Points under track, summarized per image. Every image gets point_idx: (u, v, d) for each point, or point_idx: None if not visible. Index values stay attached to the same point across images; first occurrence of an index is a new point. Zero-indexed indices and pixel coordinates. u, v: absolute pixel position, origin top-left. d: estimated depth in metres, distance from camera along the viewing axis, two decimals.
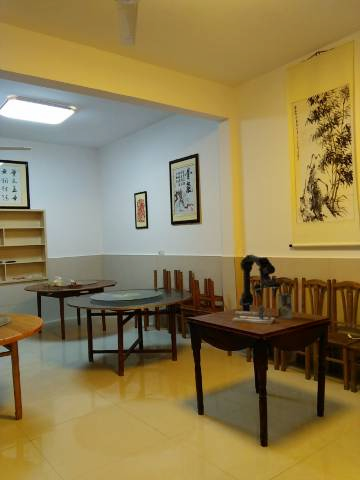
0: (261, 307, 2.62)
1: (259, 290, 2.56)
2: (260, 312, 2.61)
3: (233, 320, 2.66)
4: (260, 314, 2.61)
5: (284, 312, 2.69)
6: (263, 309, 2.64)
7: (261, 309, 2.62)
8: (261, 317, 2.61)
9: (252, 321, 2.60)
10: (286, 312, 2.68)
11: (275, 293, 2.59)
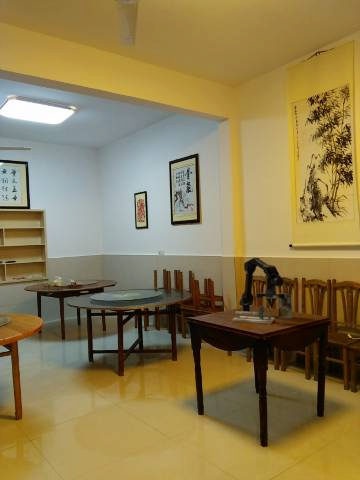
0: (261, 307, 2.62)
1: (268, 299, 2.59)
2: (260, 312, 2.61)
3: (233, 320, 2.66)
4: (260, 314, 2.61)
5: (284, 312, 2.69)
6: (263, 309, 2.64)
7: (261, 309, 2.62)
8: (261, 317, 2.61)
9: (252, 321, 2.60)
10: (286, 312, 2.68)
11: (272, 303, 2.59)
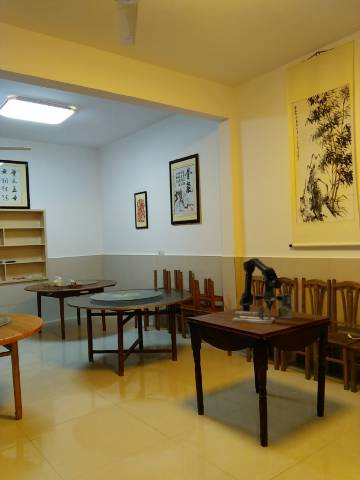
0: (261, 307, 2.62)
1: (266, 301, 2.59)
2: (260, 312, 2.61)
3: (233, 320, 2.66)
4: (260, 314, 2.61)
5: (284, 312, 2.69)
6: (263, 309, 2.64)
7: (261, 309, 2.62)
8: (261, 317, 2.61)
9: (252, 321, 2.60)
10: (286, 312, 2.68)
11: (270, 305, 2.60)
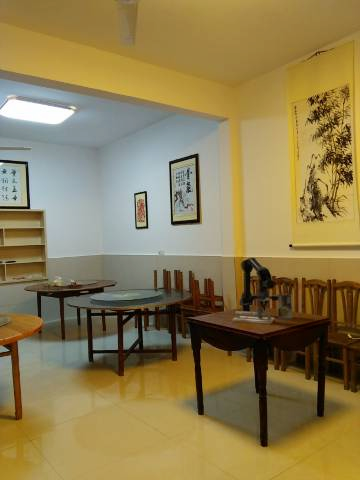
0: (260, 307, 2.62)
1: (260, 301, 2.61)
2: (259, 312, 2.61)
3: (233, 320, 2.66)
4: (259, 314, 2.62)
5: (284, 312, 2.69)
6: None
7: (260, 309, 2.62)
8: (260, 317, 2.61)
9: (252, 321, 2.60)
10: (286, 312, 2.68)
11: (265, 305, 2.61)
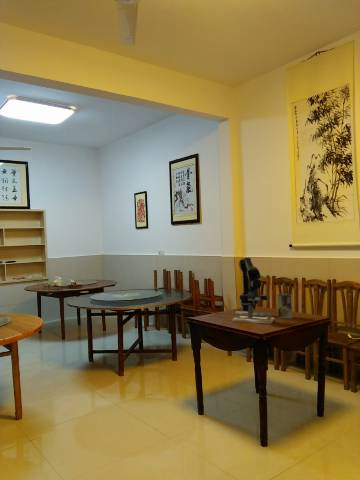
0: (250, 307, 2.65)
1: (250, 301, 2.64)
2: (249, 312, 2.64)
3: (233, 320, 2.66)
4: (249, 313, 2.64)
5: (284, 312, 2.69)
6: (252, 309, 2.67)
7: (250, 309, 2.65)
8: (250, 316, 2.64)
9: (252, 321, 2.60)
10: (286, 312, 2.68)
11: (254, 305, 2.64)
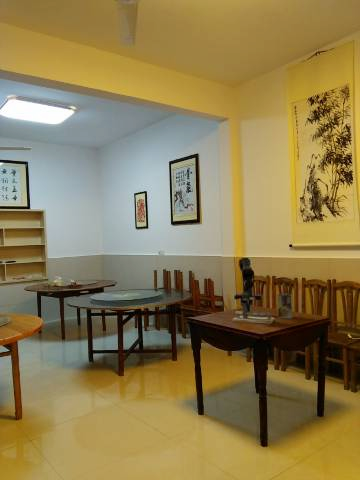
0: (244, 306, 2.67)
1: (245, 301, 2.65)
2: (243, 311, 2.66)
3: (233, 320, 2.66)
4: (243, 313, 2.66)
5: (284, 312, 2.69)
6: (246, 308, 2.69)
7: (244, 308, 2.67)
8: (244, 316, 2.66)
9: (252, 321, 2.60)
10: (286, 312, 2.68)
11: (249, 305, 2.66)
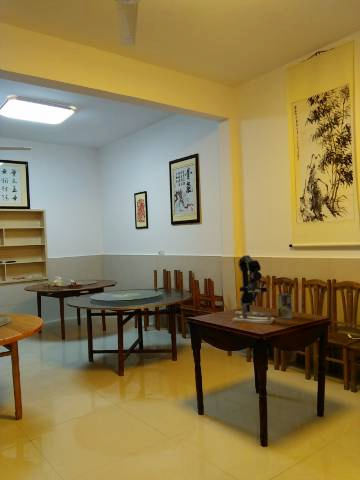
0: (244, 306, 2.67)
1: (250, 293, 2.65)
2: (243, 311, 2.66)
3: (233, 320, 2.66)
4: (243, 313, 2.66)
5: (284, 312, 2.69)
6: (246, 308, 2.69)
7: (244, 308, 2.67)
8: (244, 316, 2.66)
9: (252, 321, 2.60)
10: (286, 312, 2.68)
11: (254, 297, 2.65)
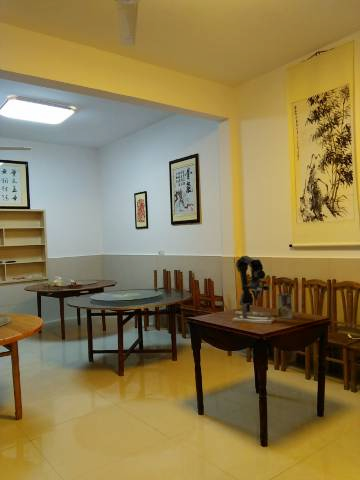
0: (244, 306, 2.67)
1: (252, 291, 2.70)
2: (243, 311, 2.66)
3: (233, 320, 2.66)
4: (243, 313, 2.66)
5: (284, 312, 2.69)
6: (246, 308, 2.69)
7: (244, 308, 2.67)
8: (244, 316, 2.66)
9: (252, 321, 2.60)
10: (286, 312, 2.68)
11: (256, 295, 2.70)
